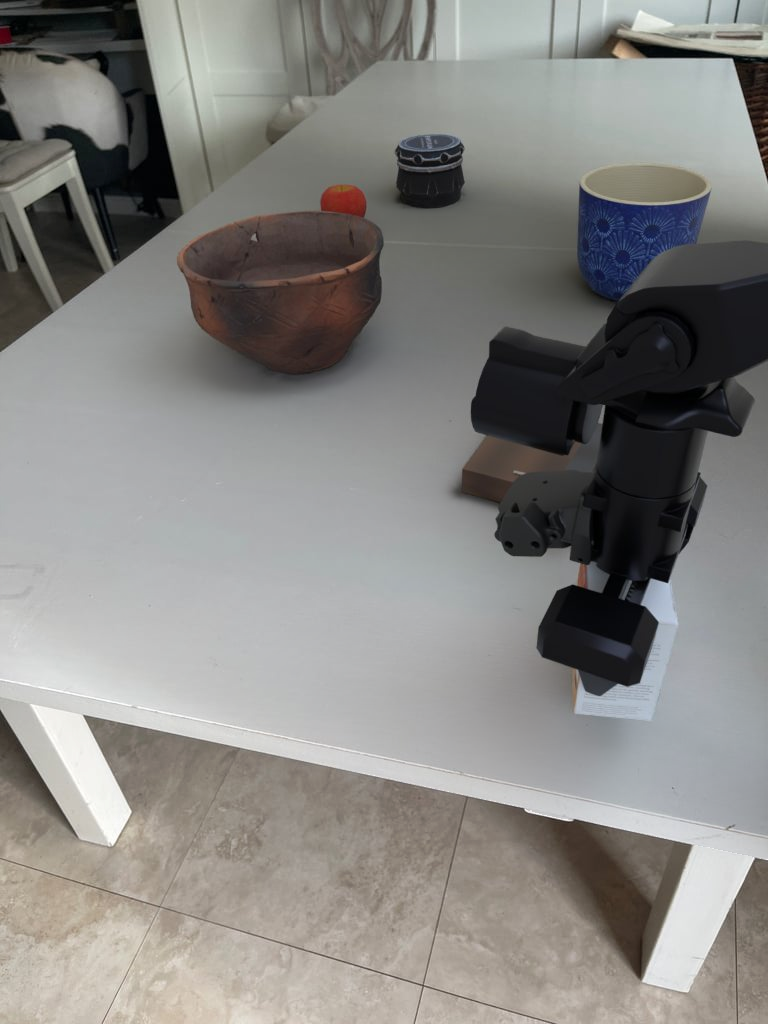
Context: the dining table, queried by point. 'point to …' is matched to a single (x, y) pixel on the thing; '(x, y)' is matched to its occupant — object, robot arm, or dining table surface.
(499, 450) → the base
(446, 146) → the container
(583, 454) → the grey block with red
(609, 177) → the planter
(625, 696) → the small box
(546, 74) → the dining table surface
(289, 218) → the bowl
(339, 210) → the apple
